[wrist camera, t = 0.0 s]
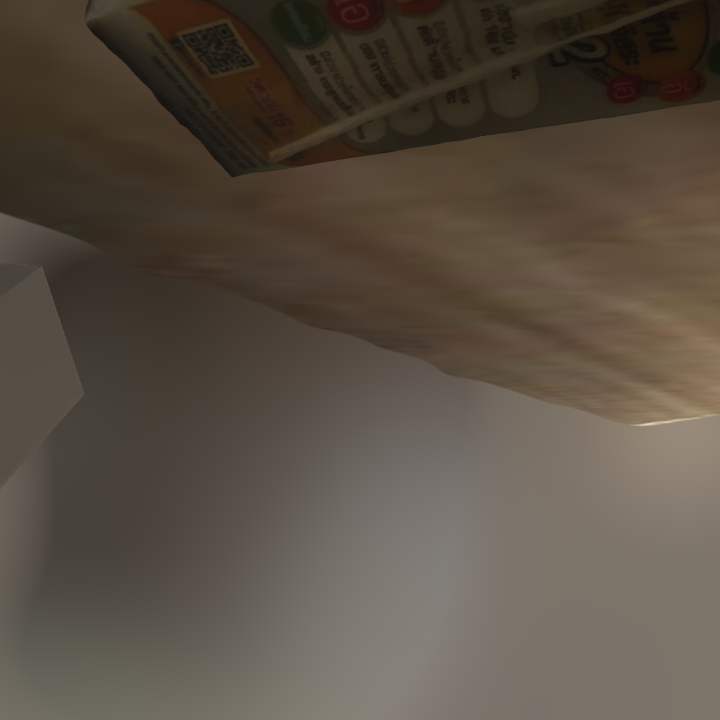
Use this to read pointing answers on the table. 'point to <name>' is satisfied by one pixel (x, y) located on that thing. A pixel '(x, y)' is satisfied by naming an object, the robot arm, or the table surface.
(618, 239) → the table surface
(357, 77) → the beverage carton
